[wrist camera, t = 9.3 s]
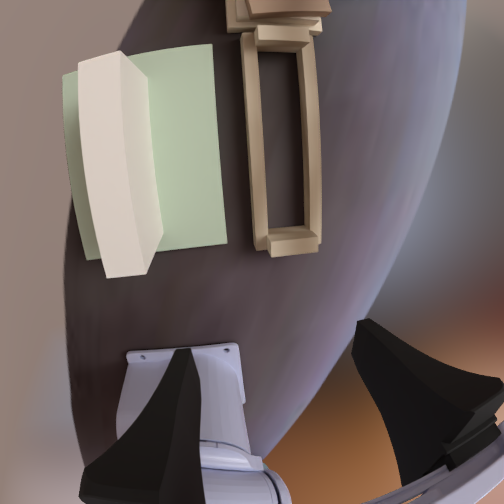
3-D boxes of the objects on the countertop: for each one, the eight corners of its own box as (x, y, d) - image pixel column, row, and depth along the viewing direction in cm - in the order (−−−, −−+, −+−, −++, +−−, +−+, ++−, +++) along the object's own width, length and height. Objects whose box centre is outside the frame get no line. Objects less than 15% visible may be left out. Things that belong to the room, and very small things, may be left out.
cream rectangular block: (134, 236, 18) (106, 278, 12) (116, 84, 14) (78, 62, 8) (163, 233, 18) (146, 274, 12) (147, 77, 14) (120, 50, 9)
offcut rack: (242, 245, 20) (248, 263, 17) (223, -32, 12) (226, -54, 9) (325, 236, 20) (342, 252, 18) (307, -28, 13) (321, -46, 10)
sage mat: (89, 256, 18) (86, 260, 18) (66, 77, 13) (62, 75, 13) (226, 240, 19) (227, 243, 19) (212, 46, 14) (212, 43, 14)
